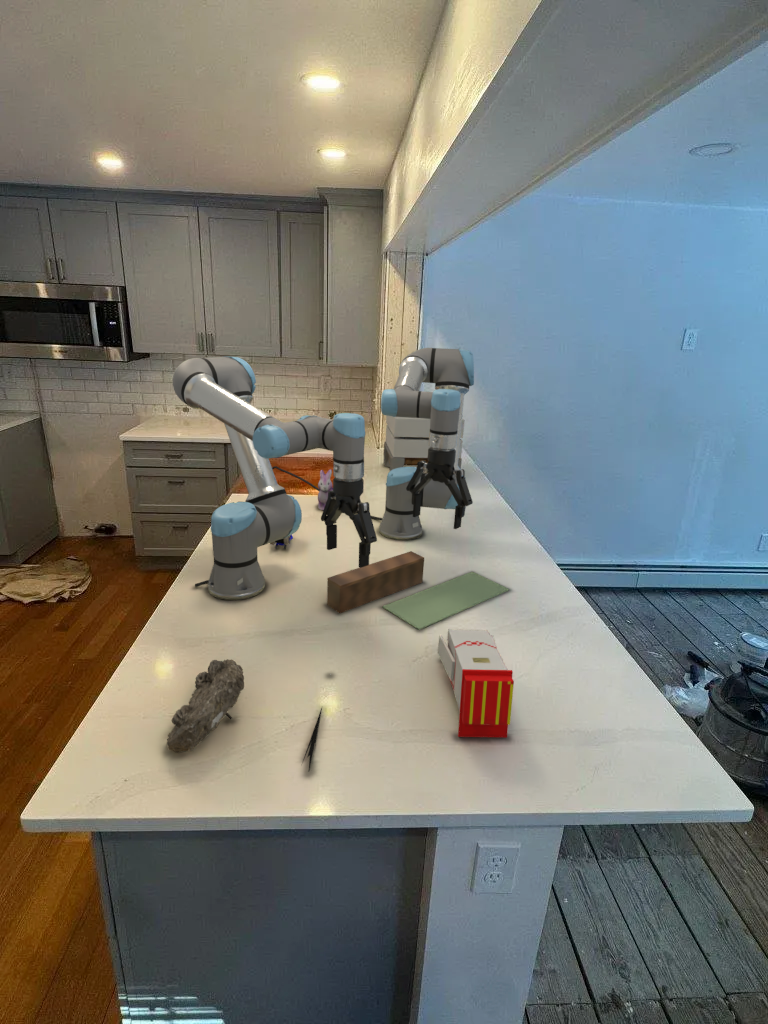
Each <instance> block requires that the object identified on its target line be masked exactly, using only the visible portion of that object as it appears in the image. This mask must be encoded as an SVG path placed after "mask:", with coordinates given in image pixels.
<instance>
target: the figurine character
mask: <svg viewBox="0 0 768 1024" xmlns="http://www.w3.org/2000/svg"><path fill="white" fill-rule="evenodd" d="M292 539H294V536H293V534H292V535H290V536H288V537H286V538H284V539H280V540H277V541H274V542H271V543H269V545H271V546H274V549H275V550H277V549H278V547H279V546H283V548H282V549H283V550H286V549H287V546H289V544H290V541H292Z"/></svg>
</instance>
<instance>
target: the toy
mask: <svg viewBox="0 0 768 1024" xmlns="http://www.w3.org/2000/svg"><path fill="white" fill-rule="evenodd" d="M446 640H447V643H446V641H445V639H444V636H443V635H442V634H439V637H438V646H437V656H438V657H439V659H440V661H441V663H442V666H443V668H444V670H445V672H446V674H447V677H448V679H449V681H450V684H451V687H452V690H453V693H454V697H455V701H456V705H457V708H458V711H459V714H458V715H459V716H458V730H457V731H458V732H457V737H458V738H508V731H509V726H510V725H511V717H512V707H513V697H514V696H513V695H514V684H515V680H514V679H513V673H514V671H513V670H512V669H508V667H507V665H506V662H505V661H504V659H503V658H502V655H501V653H500V651H499V649H498V647H497V643H496V639H495V637H494V635H493V634H491V632H490V631H489V629H467V628H466V629H465V628H463V629H461V628H460V629H459V628H448V630H447V639H446Z"/></svg>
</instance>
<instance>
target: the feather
mask: <svg viewBox="0 0 768 1024" xmlns="http://www.w3.org/2000/svg"><path fill="white" fill-rule="evenodd" d="M329 675H330V676H331V675H332V674H331V673H330V674H329ZM322 710H323V707H321V708H320V710H319V713H318V716H317V719H316V723H315V725H314V728H313V731H312V733H311V737H310V739H309V742H308V745H307V748H306V751H305V754H304V757H303V760H302V763H301V767H302V765H303V763H304V761H305V758H308V759H309V760H308V762H307V763H308V764H307V766H308V771H310V770H311V766H312V765H311V764H312V760H313V757H315V756H314V755H315V751H316V749H315V746H317V739H318V733H319V729H320V722H321V717H322V712H323V711H322ZM313 754H314V755H313ZM306 755H307V757H306Z"/></svg>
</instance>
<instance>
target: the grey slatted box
mask: <svg viewBox="0 0 768 1024" xmlns="http://www.w3.org/2000/svg"><path fill="white" fill-rule="evenodd" d="M385 423H386V428H385V438H384V442H383V466H384V467H388V468H389V472H390V471H391V470H393V469H396V468H400V467H405V466H406V467H417V463H418V462H420V461H423V460H424V461H426V463H428V460H427V458H428V449H429V448H430V446H429V432H430V419H424V418H409V417H393V416H386V415H385ZM464 429H465V419H464V418H462V424H461V436H460V447H459V458H458V467H459V468H460V469H462V461H463V460H462V453H463V442H464V441H463V440H462V439H463V438H464V431H465V430H464Z"/></svg>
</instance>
